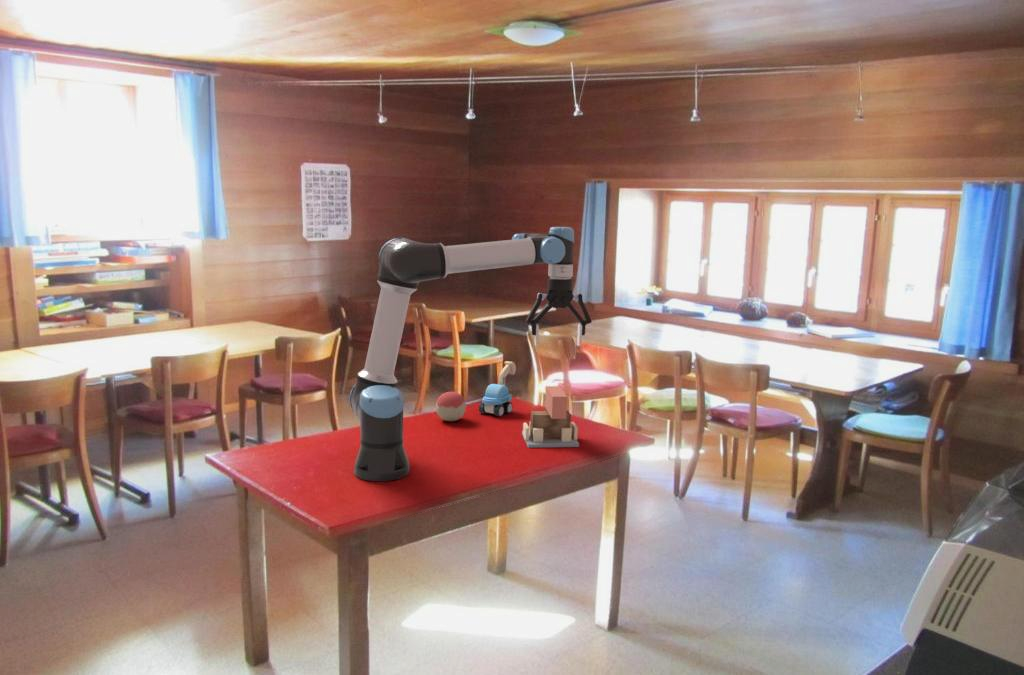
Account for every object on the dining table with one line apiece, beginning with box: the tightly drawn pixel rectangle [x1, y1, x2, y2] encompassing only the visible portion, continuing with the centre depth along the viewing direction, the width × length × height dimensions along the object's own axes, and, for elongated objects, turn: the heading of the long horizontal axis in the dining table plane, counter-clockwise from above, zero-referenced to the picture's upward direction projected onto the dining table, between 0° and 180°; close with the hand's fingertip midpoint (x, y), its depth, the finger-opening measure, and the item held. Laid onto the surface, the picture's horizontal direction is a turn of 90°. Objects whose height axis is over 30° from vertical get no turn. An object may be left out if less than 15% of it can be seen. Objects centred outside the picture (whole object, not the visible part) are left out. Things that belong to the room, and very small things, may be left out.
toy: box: [435, 391, 467, 422], centre depth 273 cm, size 10×12×10 cm
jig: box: [521, 420, 580, 449], centre depth 254 cm, size 16×14×5 cm
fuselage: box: [530, 410, 572, 440], centre depth 254 cm, size 12×4×8 cm, turn 97°
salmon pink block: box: [544, 385, 568, 419], centre depth 253 cm, size 4×13×7 cm, turn 7°
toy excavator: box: [478, 360, 517, 418], centre depth 285 cm, size 9×17×17 cm, turn 148°
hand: (557, 345), depth 249 cm, fingers open, 13 cm apart
